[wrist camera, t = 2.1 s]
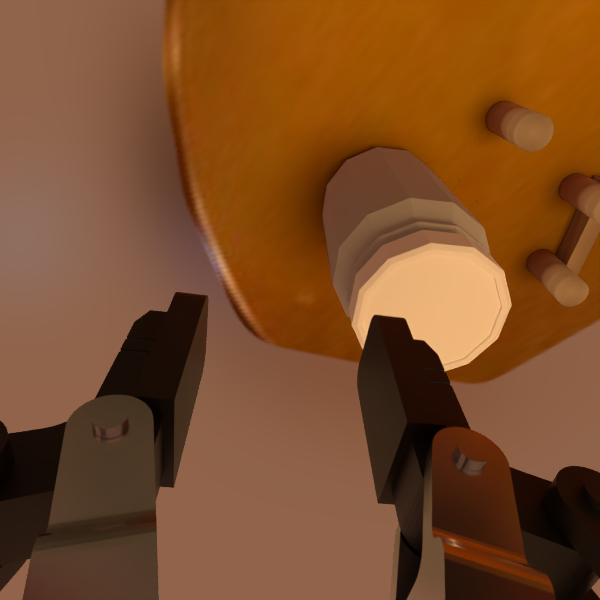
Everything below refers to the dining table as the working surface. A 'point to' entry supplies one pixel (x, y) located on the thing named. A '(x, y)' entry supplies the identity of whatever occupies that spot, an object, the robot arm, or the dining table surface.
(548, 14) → the dining table surface
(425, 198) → the jar
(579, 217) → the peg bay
